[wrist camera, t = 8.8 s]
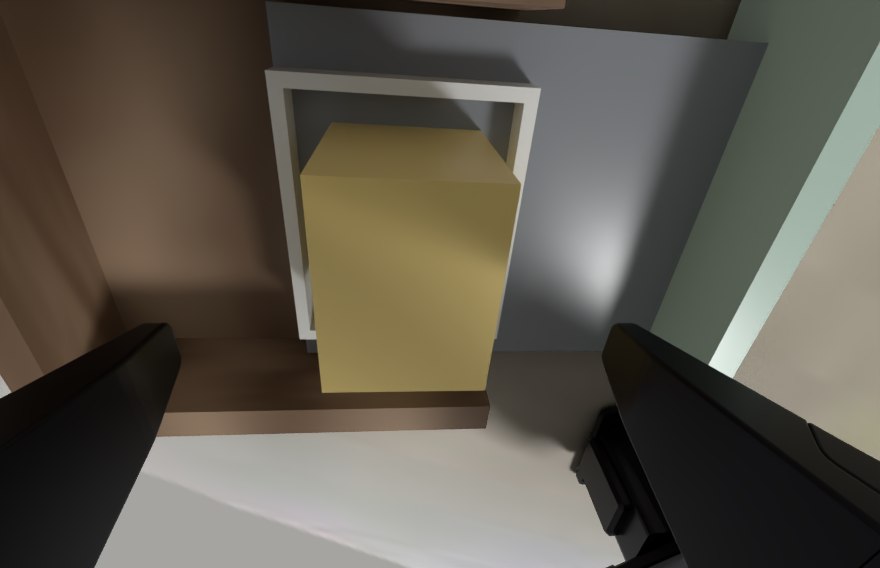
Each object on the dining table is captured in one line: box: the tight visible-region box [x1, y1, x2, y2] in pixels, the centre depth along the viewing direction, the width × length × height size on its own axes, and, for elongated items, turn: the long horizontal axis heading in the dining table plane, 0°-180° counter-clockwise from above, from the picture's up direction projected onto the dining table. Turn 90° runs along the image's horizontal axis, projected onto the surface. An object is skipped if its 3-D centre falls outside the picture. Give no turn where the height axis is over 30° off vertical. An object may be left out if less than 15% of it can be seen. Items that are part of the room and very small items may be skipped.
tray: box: [265, 0, 880, 378], centre depth 14 cm, size 15×15×5 cm
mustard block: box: [300, 122, 522, 393], centre depth 12 cm, size 4×6×5 cm
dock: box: [0, 0, 566, 437], centre depth 14 cm, size 16×15×5 cm
